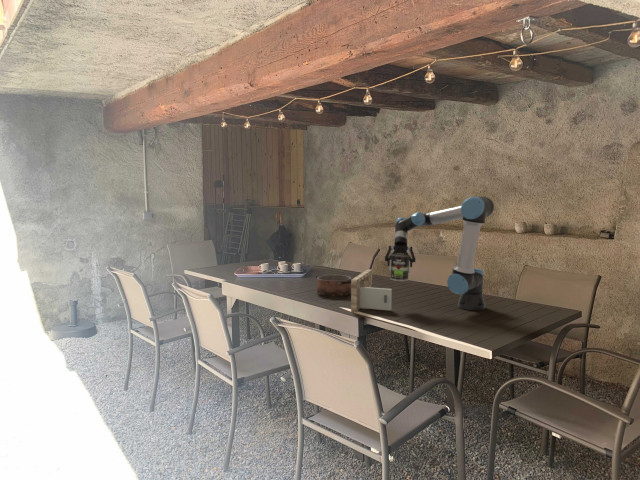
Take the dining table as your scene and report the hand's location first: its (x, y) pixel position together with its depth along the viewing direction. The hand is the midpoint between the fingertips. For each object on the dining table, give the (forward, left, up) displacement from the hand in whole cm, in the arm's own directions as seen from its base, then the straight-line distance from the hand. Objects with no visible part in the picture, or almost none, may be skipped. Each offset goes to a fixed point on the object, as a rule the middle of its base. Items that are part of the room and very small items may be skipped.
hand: (399, 270), depth 262 cm
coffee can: (-3, -1, -6) cm, 6 cm away
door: (+6, -14, -22) cm, 26 cm away
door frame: (-4, -23, -22) cm, 32 cm away
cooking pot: (-28, -48, -23) cm, 60 cm away
